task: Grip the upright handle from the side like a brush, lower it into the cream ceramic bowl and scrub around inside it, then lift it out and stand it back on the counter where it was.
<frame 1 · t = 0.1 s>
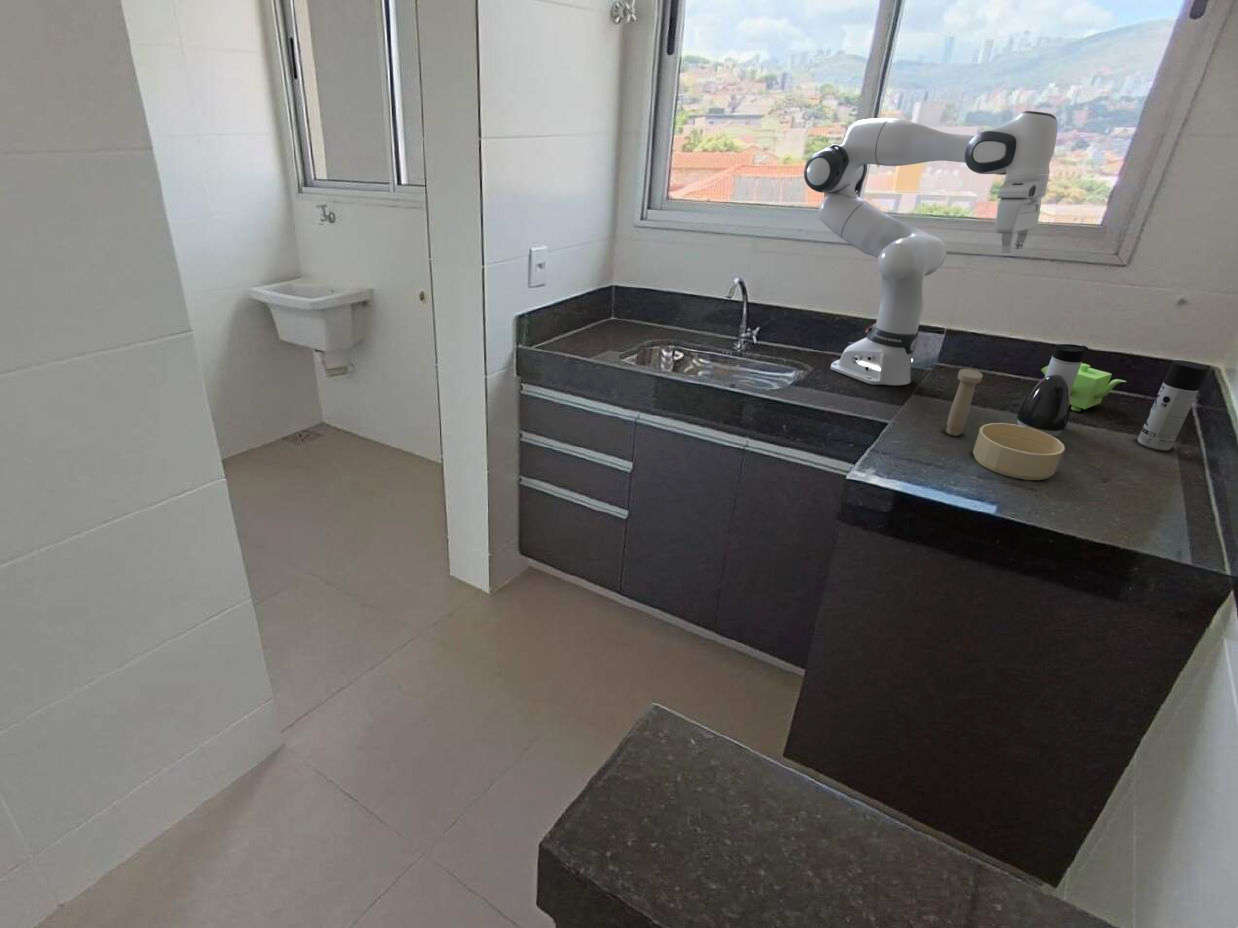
hand: (1012, 250, 163), 39 cm above the table, tool pointing down, fingers open, 8 cm apart
handle: (952, 434, 160), on the table
travel mug: (1044, 423, 169), on the table
spray can: (1153, 446, 160), on the table
kettle: (1069, 405, 181), on the table
black tapered dome: (1035, 436, 161), on the table
bowl: (1012, 463, 147), on the table
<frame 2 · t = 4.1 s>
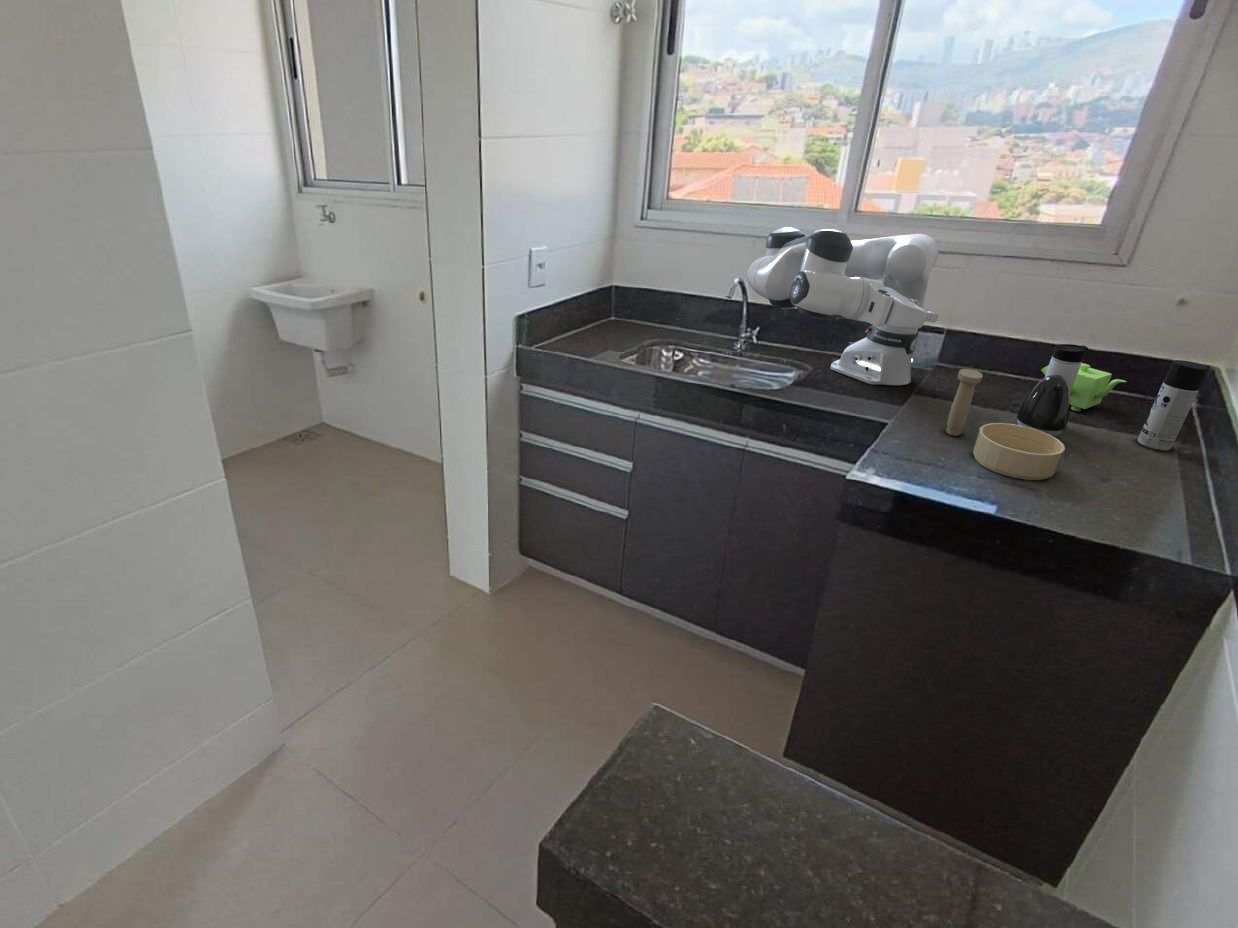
hand: (926, 311, 147), 29 cm above the table, tool horizontal, fingers open, 8 cm apart
nothing on the table moved.
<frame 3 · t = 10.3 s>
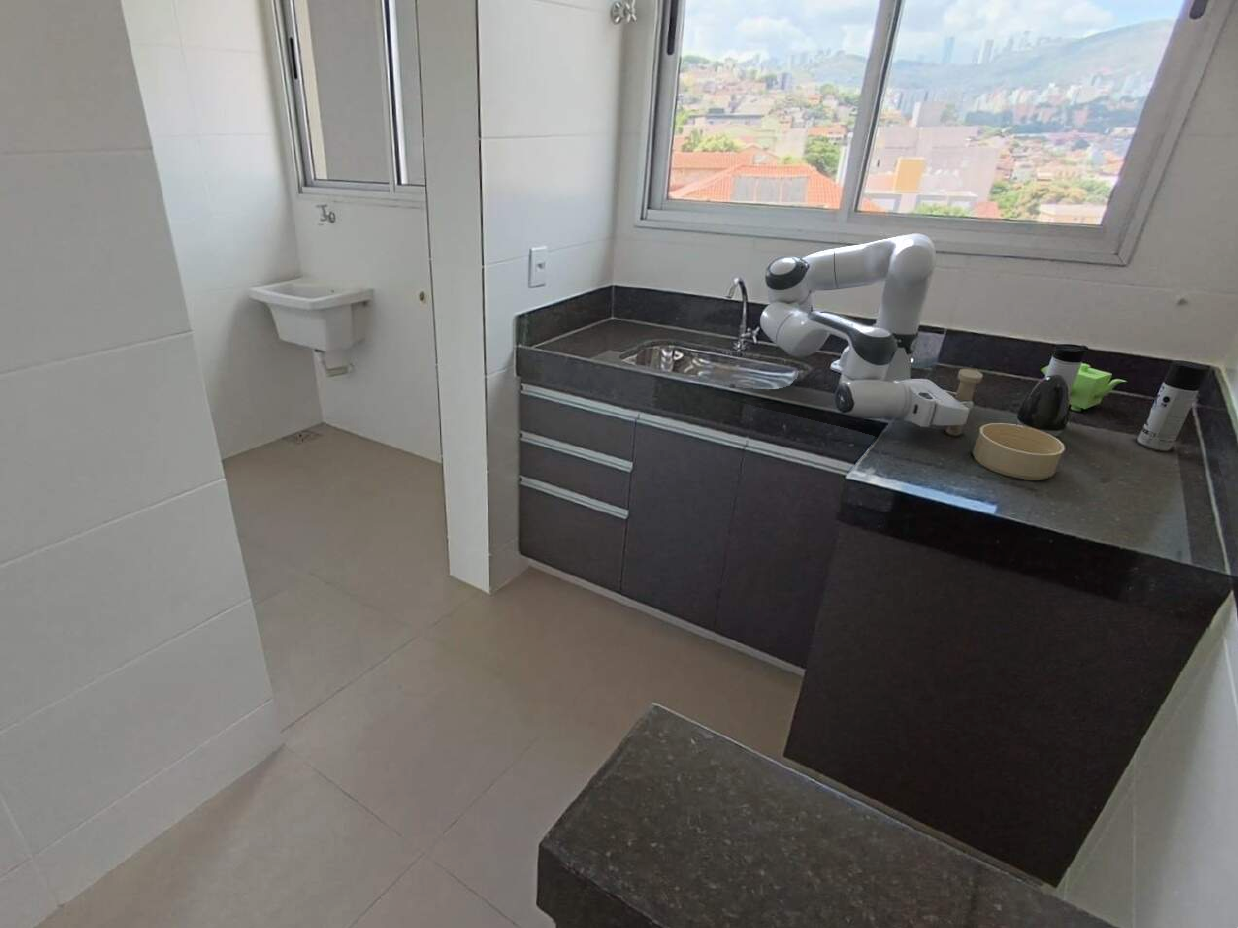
hand: (966, 401, 156), 8 cm above the table, tool horizontal, fingers closed on handle, 3 cm apart
handle: (952, 434, 160), on the table, touching gripper
everything else where it was.
when the fingers open (8 cm above the table, at t = 26.1 s): handle stays where it is, on the table.
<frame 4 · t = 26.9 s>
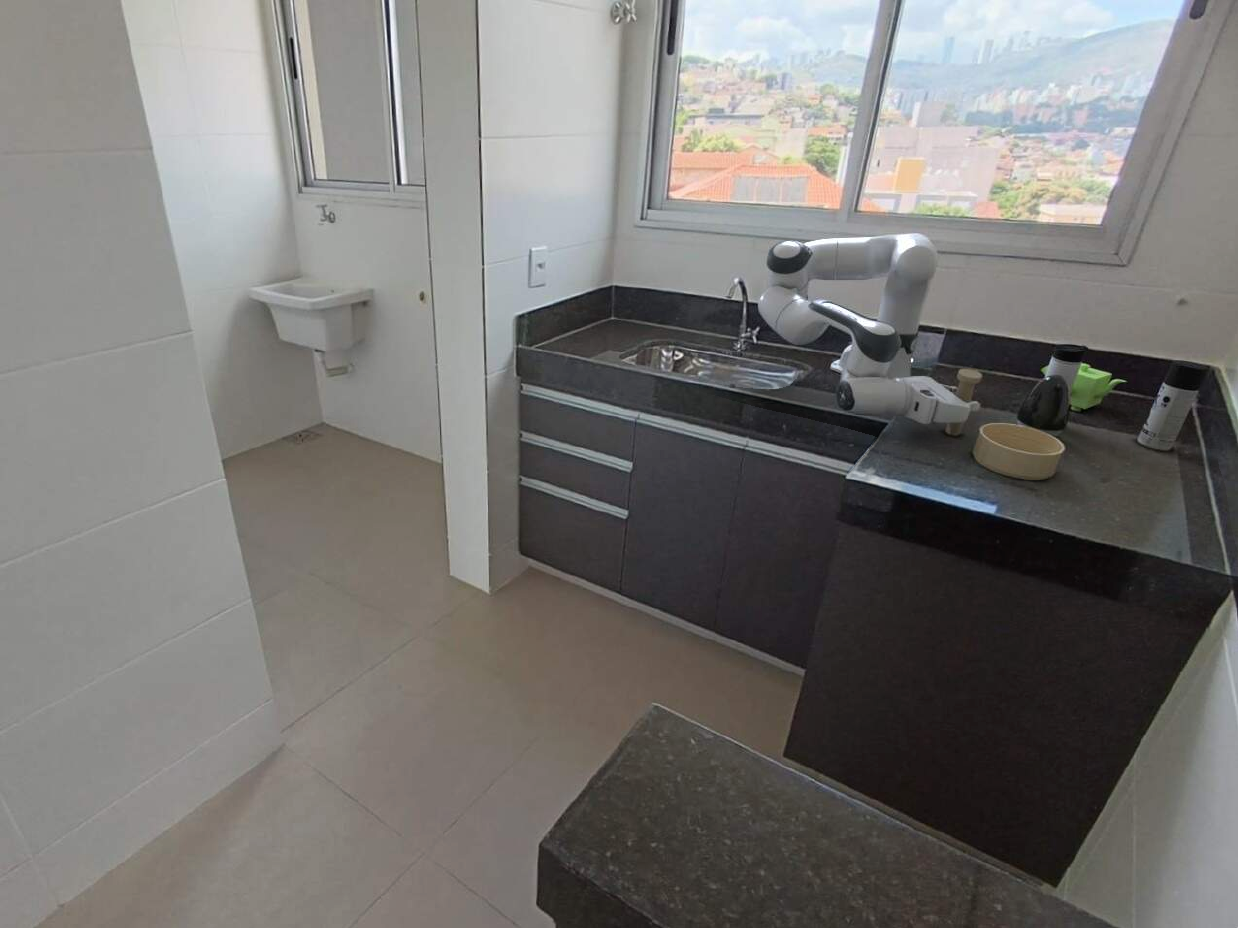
hand: (967, 398, 156), 9 cm above the table, tool horizontal, fingers open, 8 cm apart
handle: (952, 434, 160), on the table
everything else where it was.
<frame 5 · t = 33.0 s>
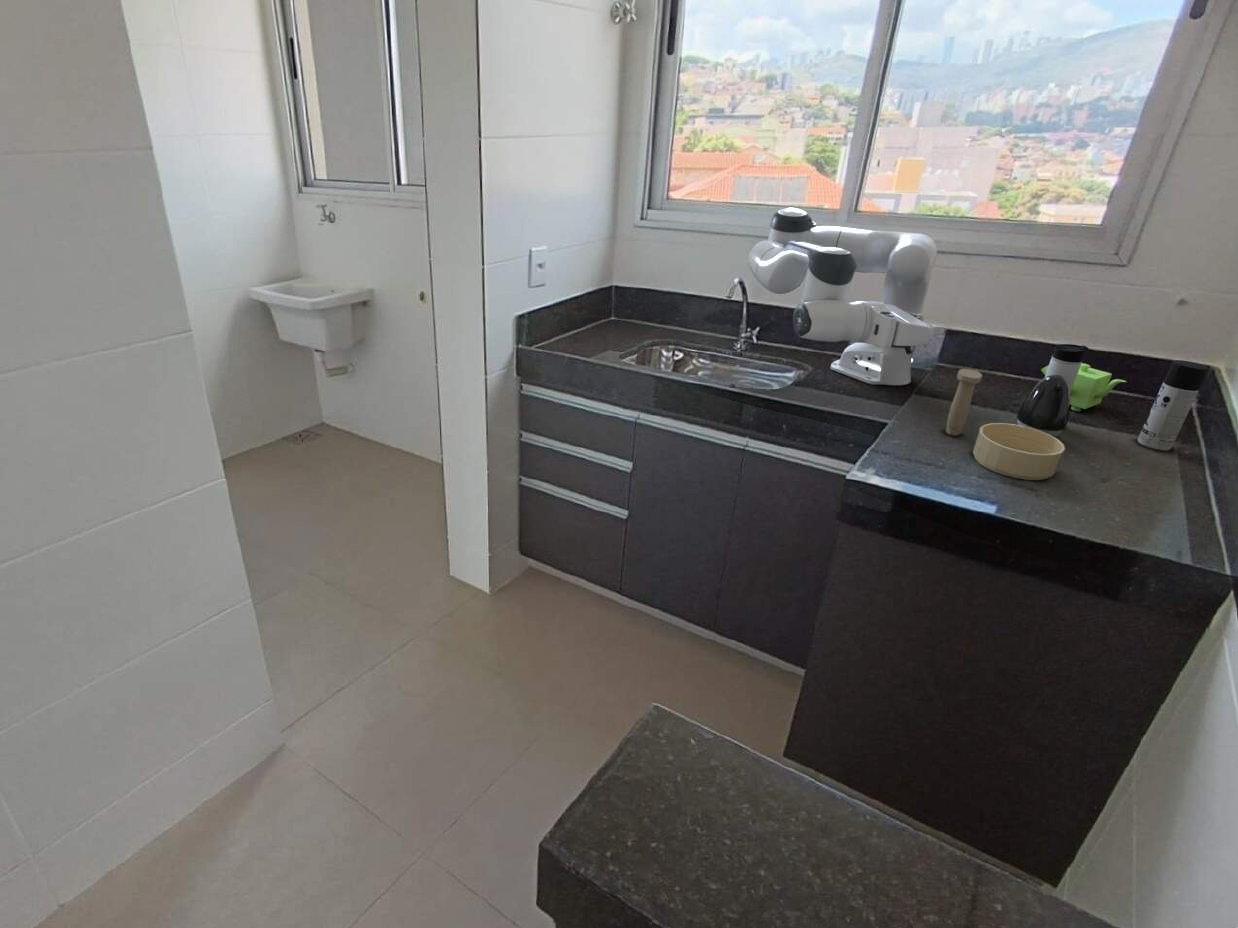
hand: (932, 324, 147), 26 cm above the table, tool horizontal, fingers open, 8 cm apart
nothing on the table moved.
at the end: handle inside the target area (0.1 cm from its centre), on the table; handle tilted 0°; the gripper is holding nothing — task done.
